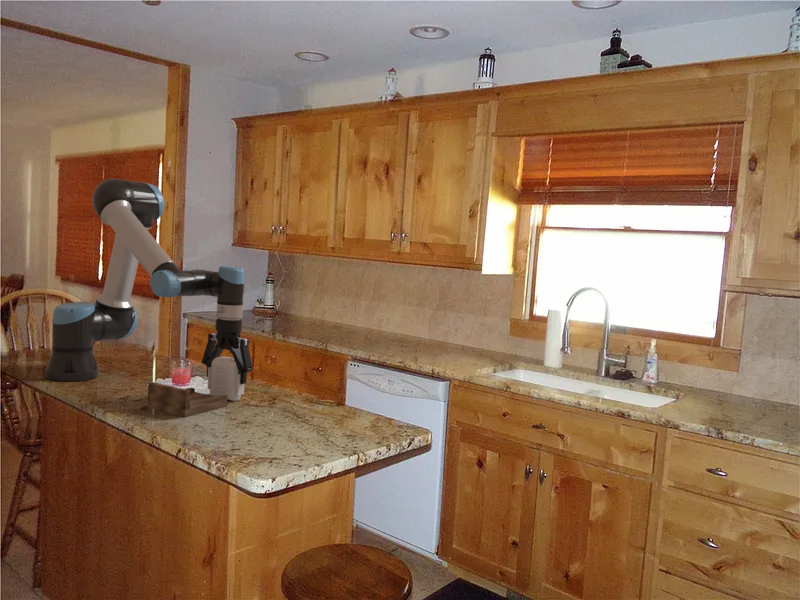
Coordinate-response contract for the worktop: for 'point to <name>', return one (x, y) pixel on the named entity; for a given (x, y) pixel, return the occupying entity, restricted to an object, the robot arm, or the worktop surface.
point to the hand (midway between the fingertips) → (225, 391)
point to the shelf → (181, 400)
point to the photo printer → (224, 378)
